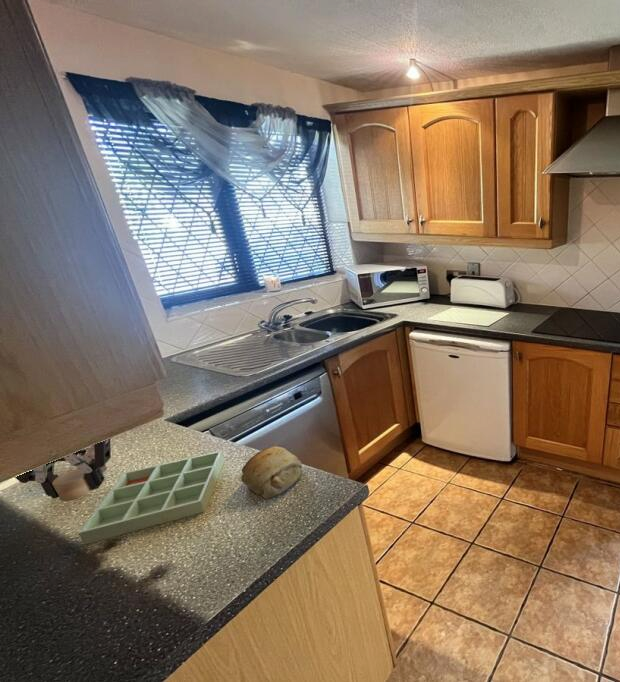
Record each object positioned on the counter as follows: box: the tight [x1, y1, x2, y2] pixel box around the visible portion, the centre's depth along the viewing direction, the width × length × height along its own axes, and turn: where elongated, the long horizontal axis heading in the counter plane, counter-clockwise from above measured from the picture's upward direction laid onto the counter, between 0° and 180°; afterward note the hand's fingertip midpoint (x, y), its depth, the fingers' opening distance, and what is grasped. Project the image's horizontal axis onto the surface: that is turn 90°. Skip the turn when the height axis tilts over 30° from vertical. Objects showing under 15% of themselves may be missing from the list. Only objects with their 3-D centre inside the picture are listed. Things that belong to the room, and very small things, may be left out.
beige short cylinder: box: [52, 468, 96, 502], centre depth 69 cm, size 5×5×4 cm
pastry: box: [240, 445, 303, 500], centre depth 92 cm, size 14×12×8 cm
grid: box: [77, 450, 226, 545], centre depth 88 cm, size 20×20×3 cm
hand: (78, 490), depth 69 cm, fingers closed on beige short cylinder, 4 cm apart
